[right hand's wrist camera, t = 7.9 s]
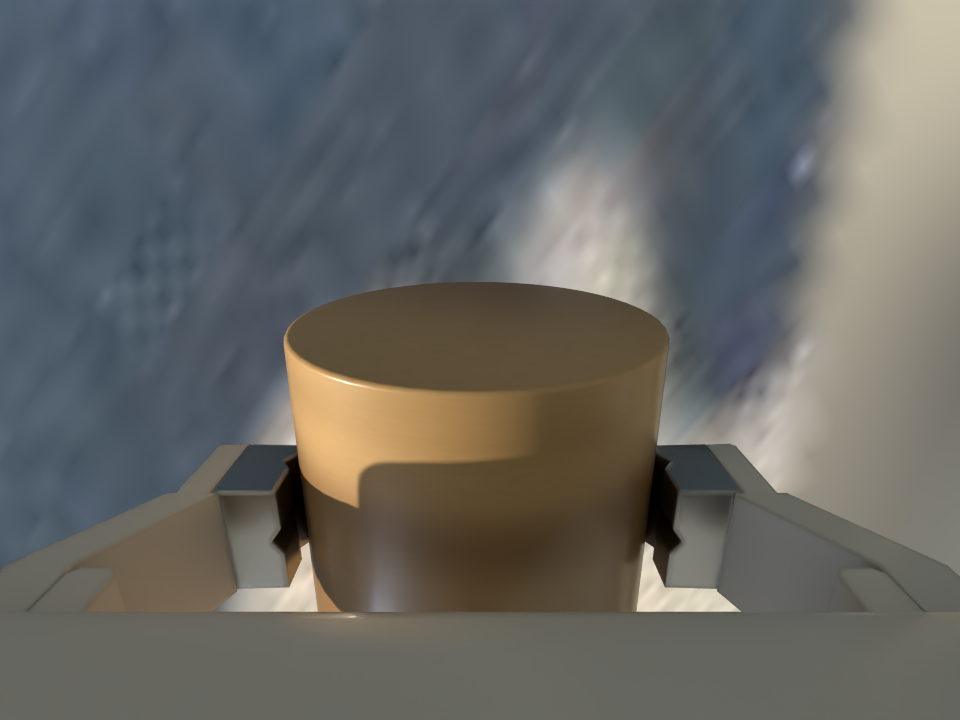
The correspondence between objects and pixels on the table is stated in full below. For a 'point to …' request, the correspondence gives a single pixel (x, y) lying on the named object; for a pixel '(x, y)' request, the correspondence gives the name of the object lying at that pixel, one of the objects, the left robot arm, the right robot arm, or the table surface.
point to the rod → (476, 447)
